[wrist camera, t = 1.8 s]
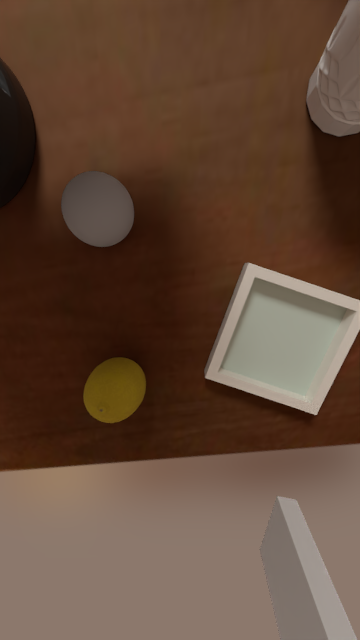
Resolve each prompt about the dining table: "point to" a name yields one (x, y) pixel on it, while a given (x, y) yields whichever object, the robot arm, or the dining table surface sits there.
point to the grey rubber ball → (97, 209)
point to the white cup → (338, 78)
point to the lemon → (114, 390)
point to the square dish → (283, 338)
